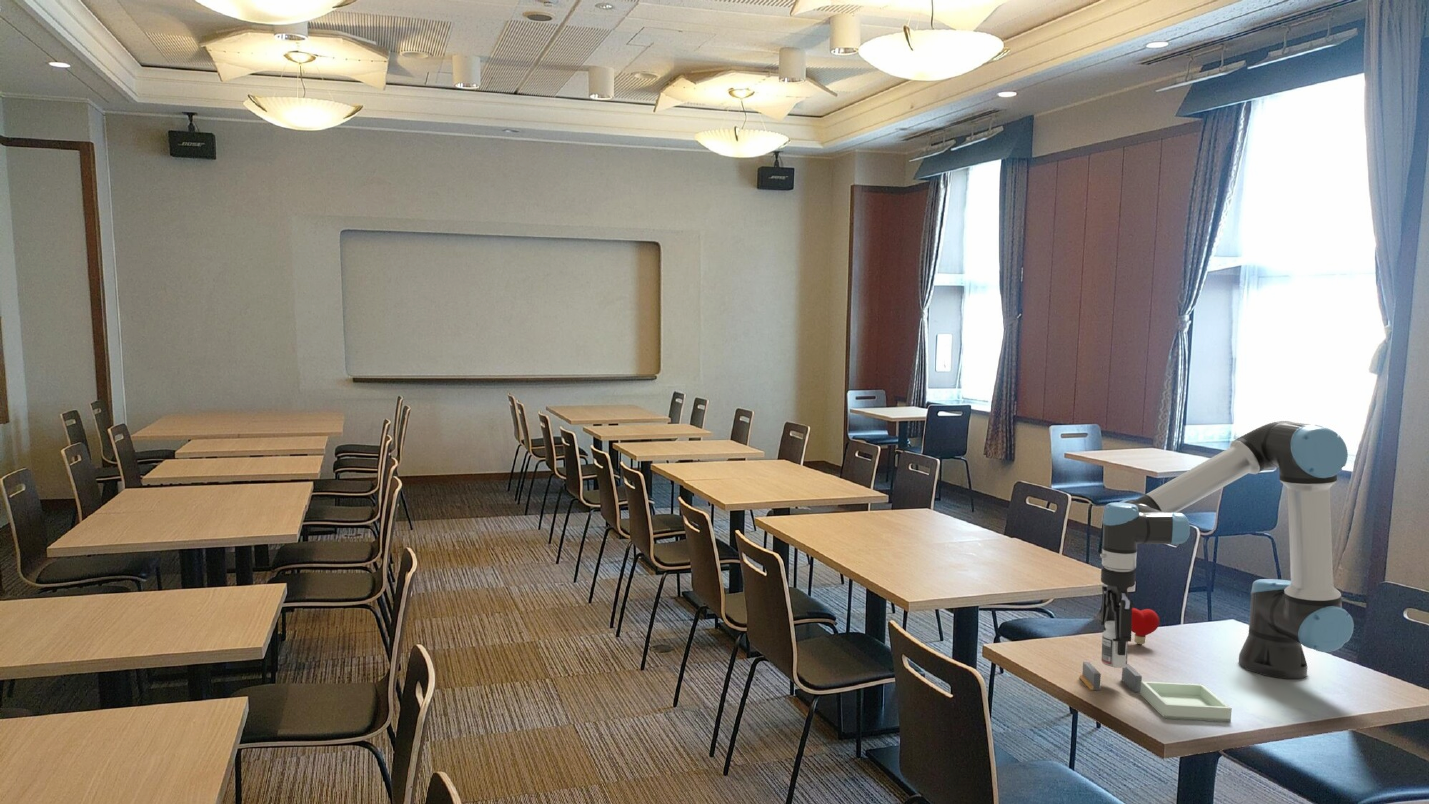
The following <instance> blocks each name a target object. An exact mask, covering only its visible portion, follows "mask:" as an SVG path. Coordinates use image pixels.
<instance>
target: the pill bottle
mask: <svg viewBox="0 0 1429 804" xmlns="http://www.w3.org/2000/svg"><path fill="white" fill-rule="evenodd" d="M1105 628H1106V630H1103V632H1102V636H1101V637H1102V639H1101V662H1102V664H1103V665H1106V666H1108V667H1110V668H1111V667H1112V668H1114V667H1113V650H1114V641H1113V639H1116V634H1115V621H1106V622H1105ZM1128 650H1129V641H1128V642H1127V647H1126V665H1127V664H1128V657H1129V656H1128V654H1129V651H1128Z"/></svg>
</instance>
